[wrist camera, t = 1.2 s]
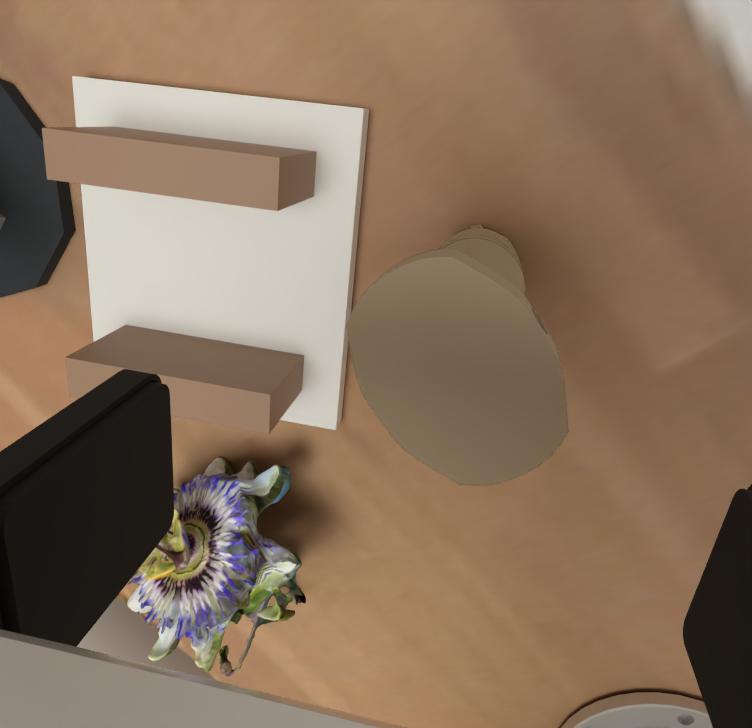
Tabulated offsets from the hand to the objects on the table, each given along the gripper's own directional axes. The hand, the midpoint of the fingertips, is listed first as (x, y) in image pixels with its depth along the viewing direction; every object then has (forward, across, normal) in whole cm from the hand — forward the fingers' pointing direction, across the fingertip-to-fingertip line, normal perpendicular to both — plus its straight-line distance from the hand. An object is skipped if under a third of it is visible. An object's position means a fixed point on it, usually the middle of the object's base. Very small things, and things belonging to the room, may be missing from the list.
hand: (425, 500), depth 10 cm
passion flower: (+21, +11, +19) cm, 30 cm away
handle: (+21, 0, 0) cm, 21 cm away
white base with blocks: (+21, +13, +2) cm, 25 cm away
